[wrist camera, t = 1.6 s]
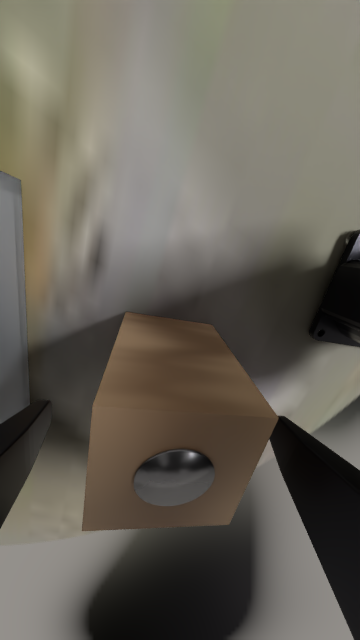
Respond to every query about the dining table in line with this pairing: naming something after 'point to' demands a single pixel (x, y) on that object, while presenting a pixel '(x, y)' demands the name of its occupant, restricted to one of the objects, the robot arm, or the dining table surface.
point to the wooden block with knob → (172, 429)
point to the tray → (12, 302)
